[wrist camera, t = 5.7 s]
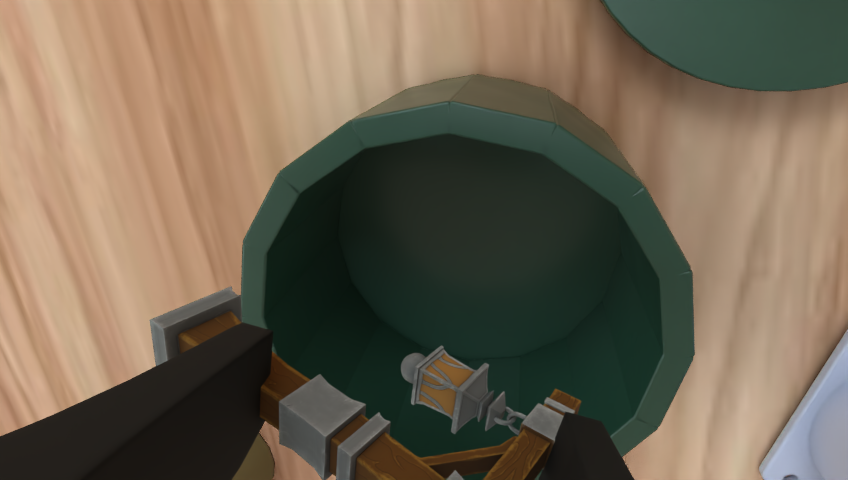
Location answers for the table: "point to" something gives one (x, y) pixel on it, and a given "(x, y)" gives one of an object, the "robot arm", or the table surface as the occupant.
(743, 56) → the lid
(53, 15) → the table surface
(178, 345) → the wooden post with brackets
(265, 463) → the olive game pawn
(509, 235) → the tin
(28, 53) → the table surface
